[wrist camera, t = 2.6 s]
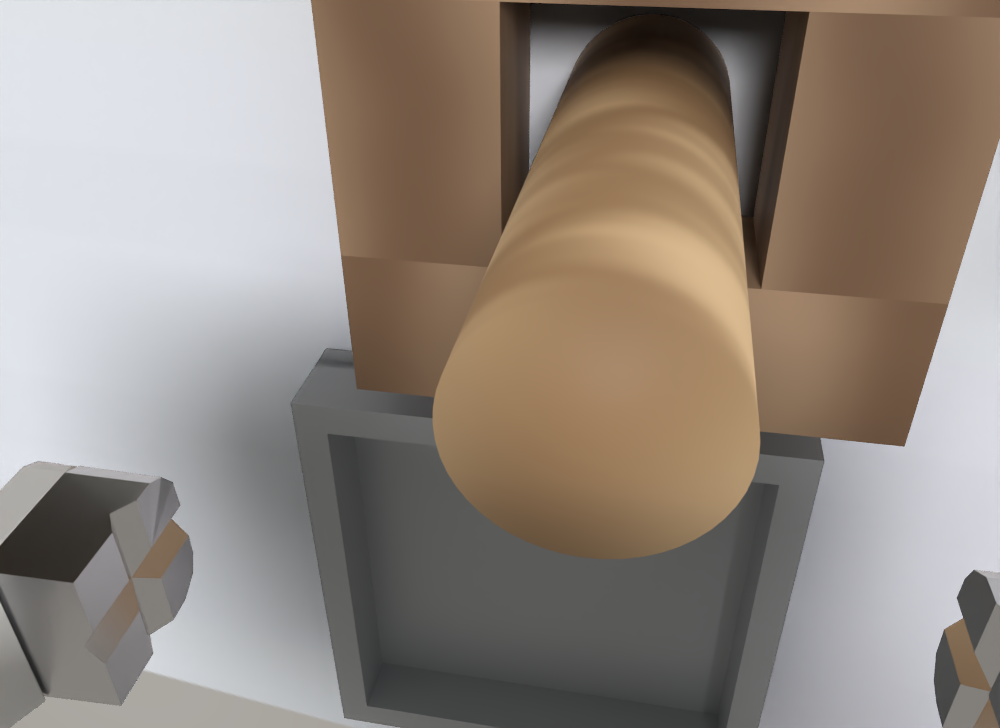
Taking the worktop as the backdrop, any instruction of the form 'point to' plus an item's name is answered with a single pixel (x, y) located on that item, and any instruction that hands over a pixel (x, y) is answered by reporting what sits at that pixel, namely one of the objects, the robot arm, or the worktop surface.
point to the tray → (532, 587)
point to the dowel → (614, 315)
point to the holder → (767, 235)
